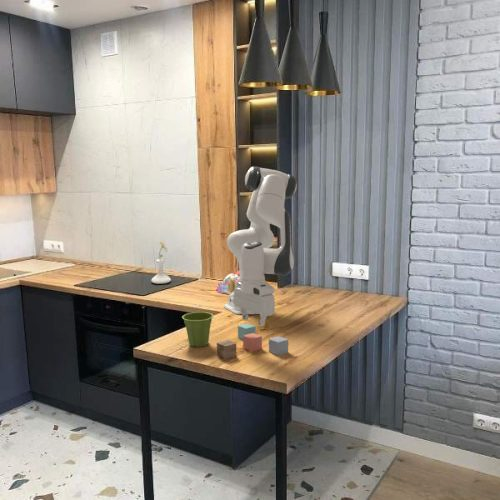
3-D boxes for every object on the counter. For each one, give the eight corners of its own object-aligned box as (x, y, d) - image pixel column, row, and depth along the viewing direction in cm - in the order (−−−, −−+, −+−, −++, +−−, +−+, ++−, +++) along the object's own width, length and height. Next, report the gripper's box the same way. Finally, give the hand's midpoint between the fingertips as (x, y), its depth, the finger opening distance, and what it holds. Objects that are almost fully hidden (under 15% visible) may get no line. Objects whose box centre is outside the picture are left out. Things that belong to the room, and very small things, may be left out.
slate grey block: (268, 351, 188) (268, 338, 187) (279, 348, 191) (279, 336, 190) (277, 355, 184) (278, 342, 183) (288, 352, 187) (288, 339, 186)
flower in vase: (169, 285, 296) (168, 242, 292) (149, 285, 296) (148, 242, 292) (172, 280, 309) (171, 239, 305) (153, 280, 309) (152, 239, 305)
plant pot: (198, 337, 204) (198, 309, 203) (220, 343, 197) (219, 315, 195) (176, 344, 196) (175, 316, 194) (198, 351, 188) (197, 322, 186)
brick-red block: (243, 348, 192) (243, 335, 191) (253, 345, 195) (253, 332, 194) (251, 352, 188) (251, 339, 187) (261, 349, 191) (261, 336, 190)
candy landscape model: (265, 291, 280) (265, 275, 279) (228, 297, 268) (227, 280, 267) (241, 283, 301) (241, 267, 300) (206, 288, 289) (205, 272, 288)
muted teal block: (237, 337, 204) (237, 325, 203) (247, 335, 207) (247, 323, 206) (245, 340, 200) (245, 328, 199) (255, 338, 203) (255, 326, 202)
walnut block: (217, 355, 184) (216, 342, 183) (228, 352, 187) (227, 339, 187) (225, 359, 180) (225, 346, 180) (236, 356, 183) (236, 343, 183)
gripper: (229, 282, 193) (229, 318, 195) (264, 292, 178) (264, 330, 180) (242, 280, 197) (242, 314, 199) (277, 289, 182) (277, 326, 184)
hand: (253, 322), depth 189 cm, fingers open, 8 cm apart
